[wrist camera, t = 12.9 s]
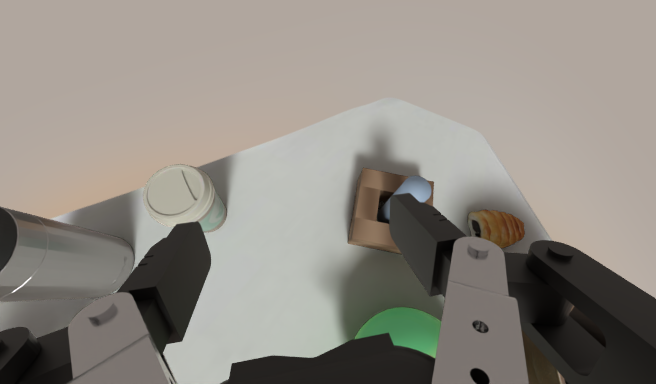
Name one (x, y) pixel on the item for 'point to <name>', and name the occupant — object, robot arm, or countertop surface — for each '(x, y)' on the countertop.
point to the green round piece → (405, 328)
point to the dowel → (410, 185)
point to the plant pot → (539, 369)
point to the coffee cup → (184, 198)
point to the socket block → (375, 209)
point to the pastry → (496, 227)
